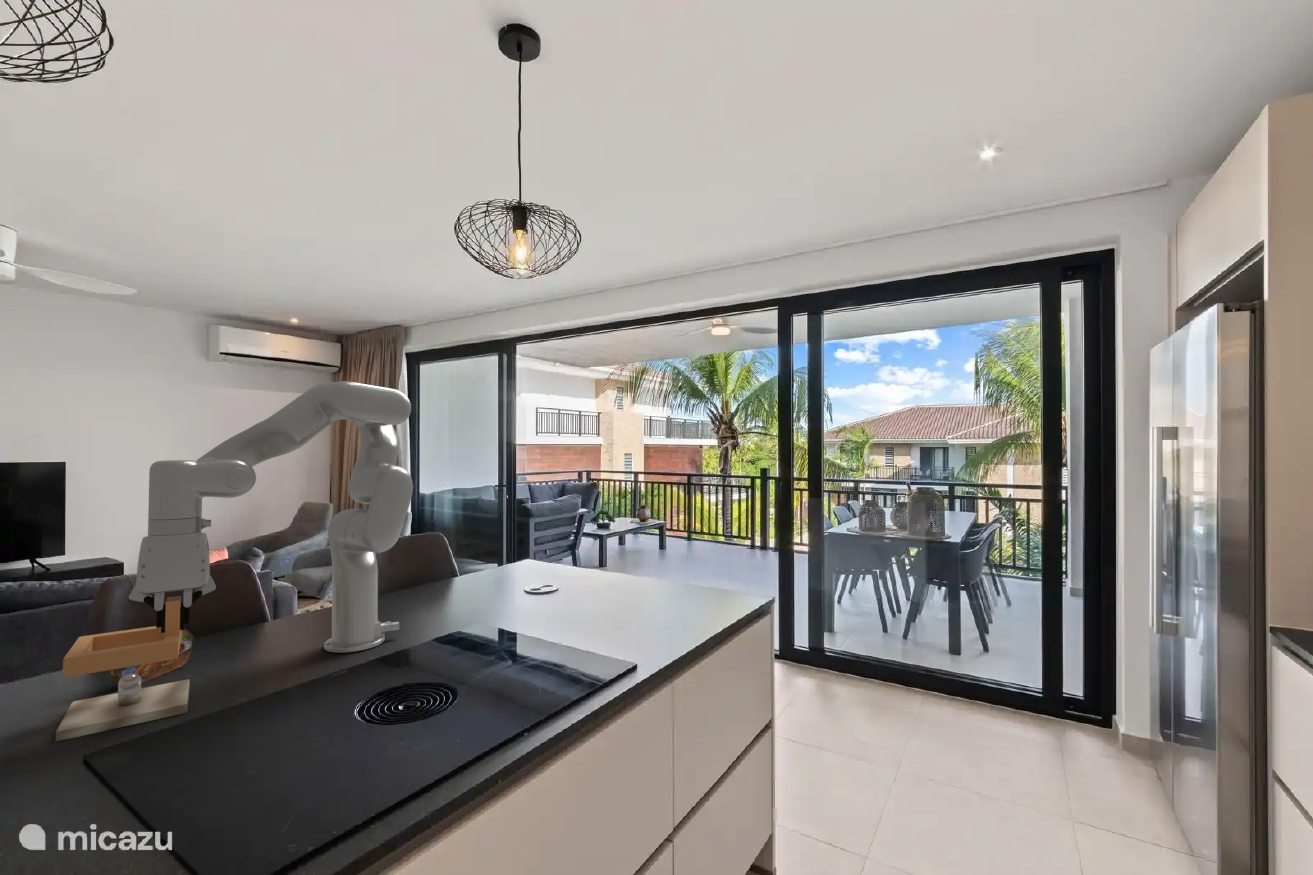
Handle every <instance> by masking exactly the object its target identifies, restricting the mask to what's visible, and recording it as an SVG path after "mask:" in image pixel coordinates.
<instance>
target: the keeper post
mask: <svg viewBox="0 0 1313 875" xmlns="http://www.w3.org/2000/svg"><path fill="white" fill-rule="evenodd" d="M141 688H142V683H141V677H140V676H139V675H138V674H135V673H131V674H127V675H125V676H123V677H122V678H121V679H120V681H119V683H117V693H118V706H120V707H123V706H130V705H133V704H136V703H139V702H140V701H141Z"/></svg>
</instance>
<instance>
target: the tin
mask: <svg viewBox="0 0 1313 875" xmlns="http://www.w3.org/2000/svg"><path fill="white" fill-rule="evenodd" d="M195 644H196V643H195V637H194V636H193V634H192V633H191V632H190V631H189V630H187V629H186V628H184V630H182V631H181V643H180V649H179V655H178V659H172V660H166V661H160V662H154V663H148V664H142V665H136V666H131V667H125V668H119V669H113V670H108V671H109V675H110V678H111V679H112V680H113V681H114V682H116V683H117V684H118V683H119V681H120V679H121V678H122V677H123V676H125V675H127V674H131V673H135V674H138V675H139V676H140V677H141V684H143V683H146V682H149V681H150V680H153V679H155V678H159V677H161V676H163V674H164V675H166V674H165V673H167V674H169V673H171V671H172V672H175V671H176V670H175V669H177V668H179V669H180V668H183V667H184V666H185V665H186V664H187V663H188V662H189V661H190V659H191V658H192V656H193V654H194V651H195V648H196V647H195V646H196V645H195ZM174 670H175V671H174ZM177 670H178V669H177ZM142 682H143V683H142Z"/></svg>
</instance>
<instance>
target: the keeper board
mask: <svg viewBox="0 0 1313 875" xmlns="http://www.w3.org/2000/svg"><path fill="white" fill-rule="evenodd" d="M190 687H191V686H190V678H188V679H183V680H179V681H178V680H177V681H171V682H168V683H167V682H166V683H162V684H157V685H152V686H146V687H141V701H140V702H139V703H136V704H133V705H130V706H123V707H120V706H118V692H115V693H110V694H105V695H99V696H96V697H95V696H94V697H90V698H89V697H88V698H84V699H79V700H74V701H72V702H71V704H70V706H69V708H67V711H66V713H65V714H64V717H63V718H62V720H61V721H60V722H61V723H60V724H59V725H58V727H57V729H56V731H55V742H60V741H64V740H69V739H74V738H79V737H83V736H88V735H91V734H97V733H100V732H106V731H110V730H115V729H119V728H122V727H124V728H125V727H128V726H129V727H130V726H133V725H137V724H138V725H139V724H141V723H146V722H152V721H155V720H160V719H164V718H168V717H173V716H177V715H183V714H187V713H188V708H189V707H188V706H189V698H190Z"/></svg>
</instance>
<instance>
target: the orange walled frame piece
mask: <svg viewBox="0 0 1313 875" xmlns="http://www.w3.org/2000/svg"><path fill="white" fill-rule="evenodd" d="M165 604H166V612H165V633H161V627H160V628H156V625H155V626H154V625H153V626H147V627H141V628H140V627H139V628H133V629H132V628H131V629H127V630H126V629H125V630H120V631H119V630H117V631H111V632H103V633H96V634H90V635H88V634H87V635H82V636H79V637H78V638H77V639H76V641H75V642H74V643H73V645H72V646H71V648H70V649H69V650H68V652H67V653H66V654H65V656H64V657H63V659H62V678H70V677H75V676H81V675H88V674H94V673H100V672H106V671H109V670H113V669H119V668H125V667H131V666H136V665H142V664H148V663H154V662H160V661H166V660H172V659H178V655H179V649H180V643H181V631H182V630H180V608H181V604H182V595H179V596H171V597H166V601H165Z"/></svg>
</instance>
